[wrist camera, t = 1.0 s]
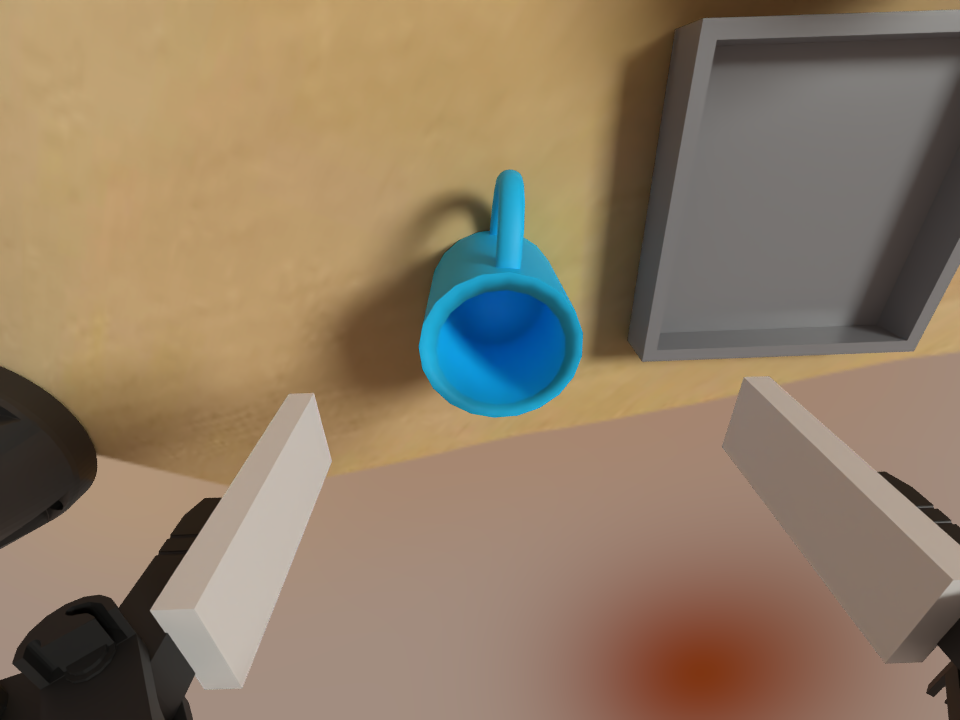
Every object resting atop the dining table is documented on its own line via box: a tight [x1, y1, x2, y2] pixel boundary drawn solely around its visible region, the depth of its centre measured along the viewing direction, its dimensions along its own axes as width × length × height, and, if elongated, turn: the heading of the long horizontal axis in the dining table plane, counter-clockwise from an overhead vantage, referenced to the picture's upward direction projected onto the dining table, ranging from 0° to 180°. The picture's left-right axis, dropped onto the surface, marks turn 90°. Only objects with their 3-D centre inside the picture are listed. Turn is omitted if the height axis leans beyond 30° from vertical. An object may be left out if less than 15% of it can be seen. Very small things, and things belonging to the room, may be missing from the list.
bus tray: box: [627, 10, 960, 362], centre depth 25 cm, size 18×18×3 cm
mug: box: [419, 170, 583, 417], centre depth 24 cm, size 12×8×8 cm
